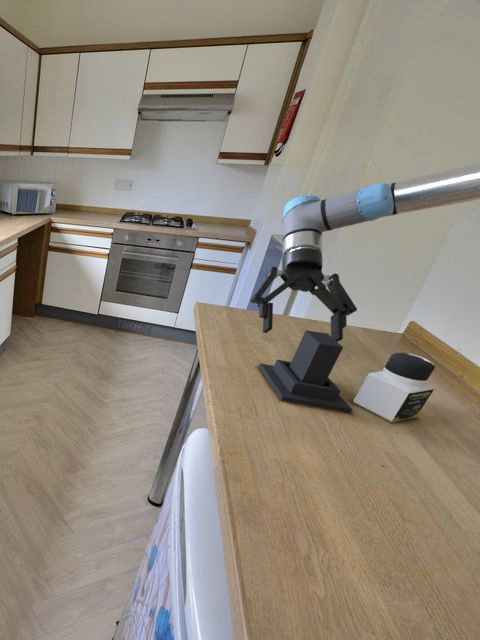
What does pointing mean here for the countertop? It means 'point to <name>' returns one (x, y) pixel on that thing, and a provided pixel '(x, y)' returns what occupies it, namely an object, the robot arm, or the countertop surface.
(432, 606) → the countertop surface
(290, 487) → the countertop surface
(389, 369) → the medicine bottle
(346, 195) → the robot arm
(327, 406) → the base pad
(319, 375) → the upright block
